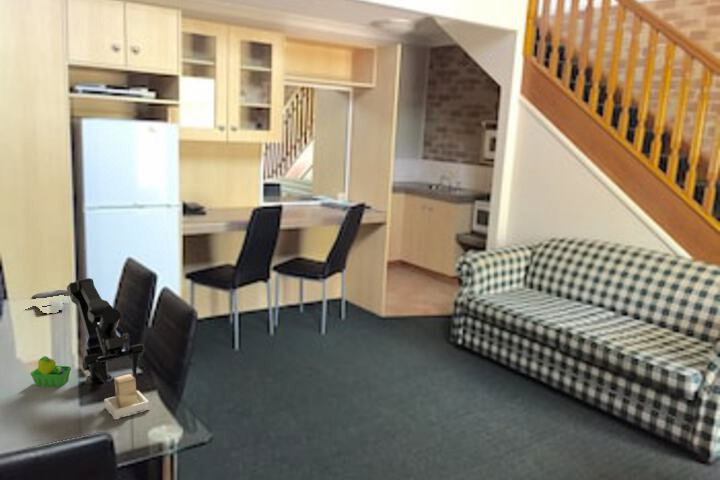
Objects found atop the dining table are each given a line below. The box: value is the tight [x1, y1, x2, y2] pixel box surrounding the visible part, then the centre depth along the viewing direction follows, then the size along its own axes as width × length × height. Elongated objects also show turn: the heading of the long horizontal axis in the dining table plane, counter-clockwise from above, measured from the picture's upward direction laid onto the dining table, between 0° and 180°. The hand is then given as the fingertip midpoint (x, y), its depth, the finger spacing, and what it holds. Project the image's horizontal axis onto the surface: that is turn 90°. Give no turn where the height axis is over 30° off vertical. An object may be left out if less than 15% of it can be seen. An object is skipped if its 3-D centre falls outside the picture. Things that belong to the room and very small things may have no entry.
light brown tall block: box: [113, 373, 137, 409], centre depth 187 cm, size 5×5×10 cm
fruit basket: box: [29, 356, 72, 388], centre depth 205 cm, size 11×9×11 cm
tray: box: [104, 389, 150, 419], centre depth 187 cm, size 11×11×3 cm
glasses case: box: [30, 289, 70, 300], centre depth 302 cm, size 18×10×8 cm, turn 136°
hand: (121, 380), depth 190 cm, fingers open, 9 cm apart
